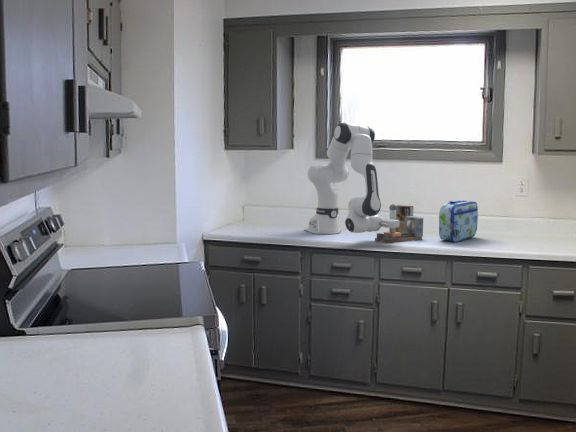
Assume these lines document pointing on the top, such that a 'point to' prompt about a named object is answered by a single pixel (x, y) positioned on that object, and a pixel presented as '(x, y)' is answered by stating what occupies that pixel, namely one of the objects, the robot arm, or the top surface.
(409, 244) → the top surface
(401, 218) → the coffee box
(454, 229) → the lunch box
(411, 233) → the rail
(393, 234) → the white column brown base
